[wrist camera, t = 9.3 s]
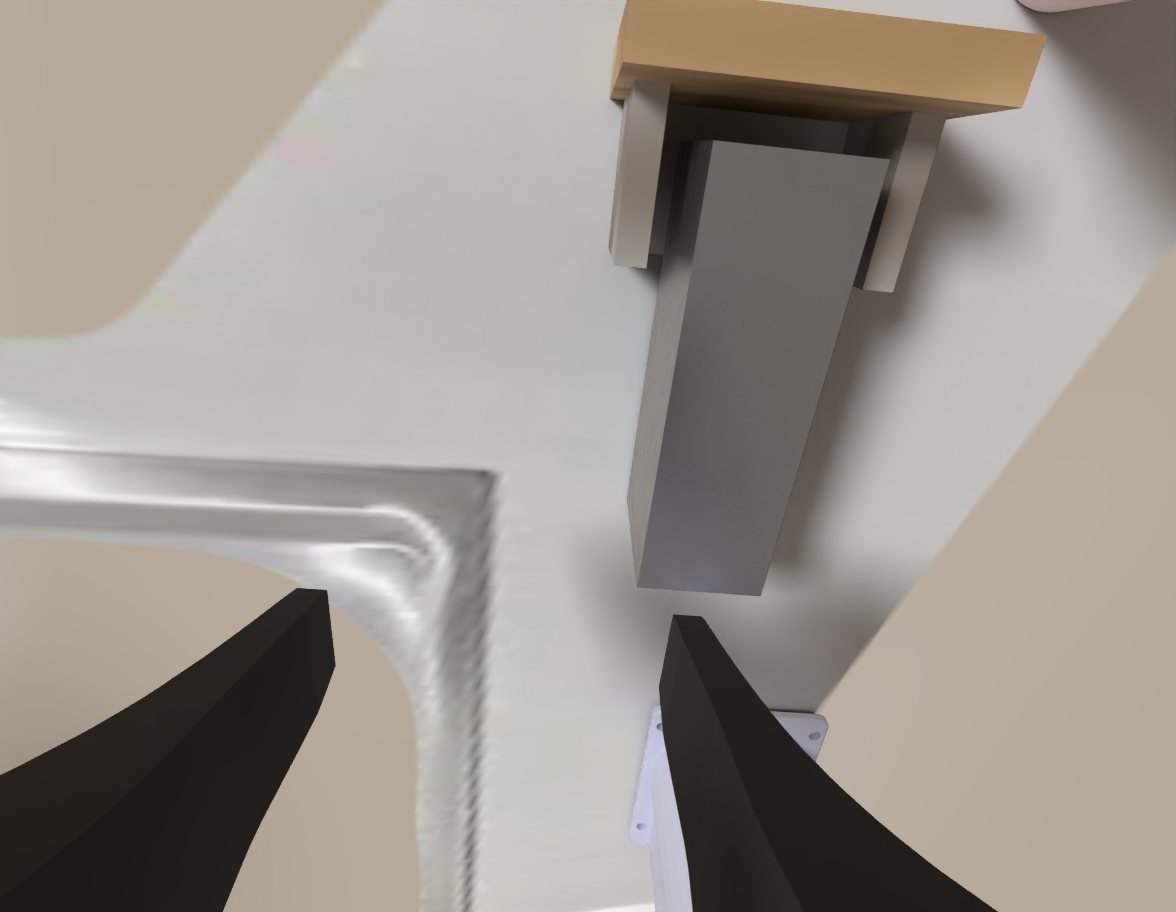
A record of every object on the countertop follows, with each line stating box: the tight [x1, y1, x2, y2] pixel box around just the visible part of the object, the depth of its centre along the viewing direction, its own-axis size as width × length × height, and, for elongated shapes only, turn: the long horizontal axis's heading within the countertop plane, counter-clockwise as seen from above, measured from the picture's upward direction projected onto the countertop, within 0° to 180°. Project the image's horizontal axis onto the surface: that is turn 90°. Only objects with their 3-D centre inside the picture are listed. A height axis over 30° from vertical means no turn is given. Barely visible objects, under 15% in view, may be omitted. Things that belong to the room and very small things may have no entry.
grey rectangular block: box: [627, 140, 890, 596], centre depth 18 cm, size 12×4×5 cm, turn 175°
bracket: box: [609, 0, 1048, 293], centre depth 15 cm, size 5×8×6 cm, turn 85°
